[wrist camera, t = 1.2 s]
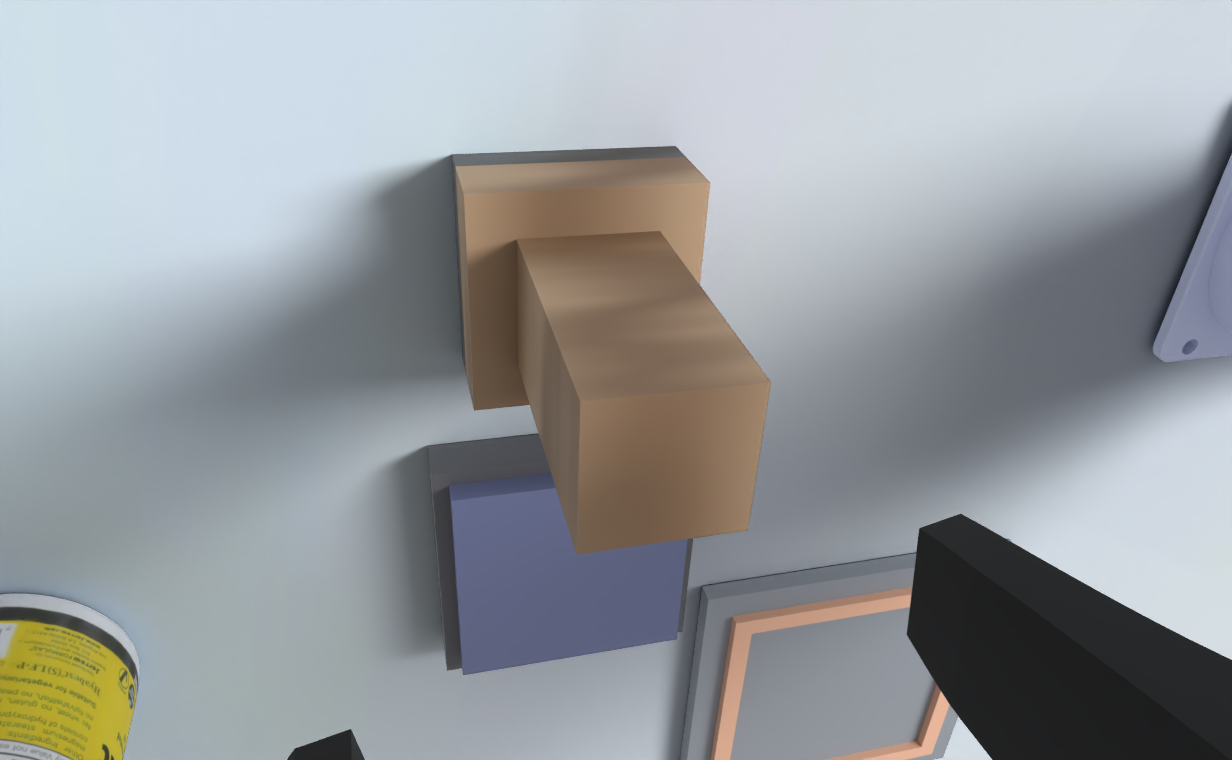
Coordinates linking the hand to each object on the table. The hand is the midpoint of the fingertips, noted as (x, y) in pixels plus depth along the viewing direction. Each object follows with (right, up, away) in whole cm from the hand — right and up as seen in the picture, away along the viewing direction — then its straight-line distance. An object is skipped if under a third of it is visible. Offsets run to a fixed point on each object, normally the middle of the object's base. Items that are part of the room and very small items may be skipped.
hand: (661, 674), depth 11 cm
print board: (+7, -7, +22) cm, 24 cm away
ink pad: (-2, -1, +15) cm, 15 cm away
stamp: (-2, +6, +10) cm, 12 cm away
